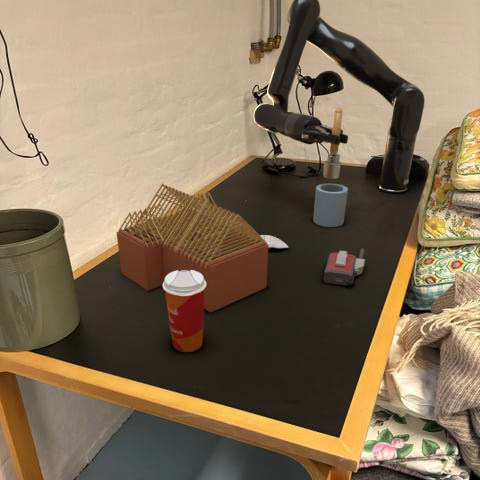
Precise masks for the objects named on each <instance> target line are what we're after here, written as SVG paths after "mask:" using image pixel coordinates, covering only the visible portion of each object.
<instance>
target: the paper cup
mask: <svg viewBox="0 0 480 480" xmlns="http://www.w3.org/2000/svg"><path fill="white" fill-rule="evenodd" d="M190 271H191V272H190ZM190 271H188V270H181V271H179V272H178V270H177V271H173V272H171V273H169V274H168V275H167V276H166V277H165V280H164V283H163V285H162V289H163V290H164V293H165V300H166V307H167V308H166V309H167V314H168V319H169V320H168V321H169V329H170V335H171V342H172V345H173V348H174V349H175V350H177V351H178V352H182V353H191V352H195V351H197V350H199V349H200V348H201V347H202V345H203V339H204V315H205V314H204V313H205V309H204V289H205V287H206V281H205V280H204V277H203V275H202V274H201V273H199V272H197V271H194V270H190Z"/></svg>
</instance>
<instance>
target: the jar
mask: <svg viewBox="0 0 480 480" xmlns="http://www.w3.org/2000/svg"><path fill="white" fill-rule="evenodd" d="M348 191H349V188H348V187H347V186H345V185H343V184H339V183H331V182H330V183H321V184H318V185H316V187H315V196H314V205H313V206H314V207H313V217H312V220H313V223H314V224H316V225H317V226H320V227H324V228H336V227H341V226H343V225H344V222H345V217H346V216H345V214H346V208H347V200H348Z"/></svg>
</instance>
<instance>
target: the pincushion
mask: <svg viewBox="0 0 480 480" xmlns="http://www.w3.org/2000/svg"><path fill="white" fill-rule="evenodd" d="M259 230H260V231H259ZM259 230H258V229H256V232H259V235H260V236H261V237H262V238H263V239H264V240H265V241H266V242H267V244H268V248H269V249H271V248H272V249H274V248H275V249H289V246H288V244H286V243H285V242H284V241H283V240H281V239H280V238H277V237H276V236H274V235H270V234H269V235H268V233H267V230H268V229H267V228H266V231H265V234H261V231H262V227H260V229H259Z"/></svg>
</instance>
